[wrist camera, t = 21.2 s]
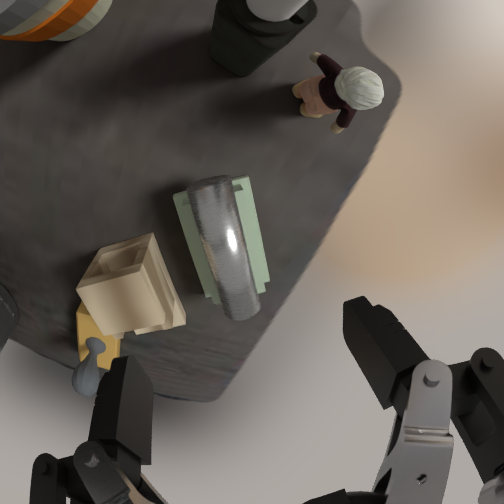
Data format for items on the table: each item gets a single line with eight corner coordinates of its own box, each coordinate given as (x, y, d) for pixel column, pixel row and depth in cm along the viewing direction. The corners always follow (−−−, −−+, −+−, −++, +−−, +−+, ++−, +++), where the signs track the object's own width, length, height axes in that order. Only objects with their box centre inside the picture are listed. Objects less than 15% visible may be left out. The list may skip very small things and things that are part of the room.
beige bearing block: (138, 324, 35) (129, 372, 28) (100, 248, 30) (75, 288, 22) (185, 314, 36) (185, 362, 28) (153, 232, 30) (139, 271, 23)
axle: (256, 292, 32) (264, 314, 29) (222, 302, 32) (227, 324, 28) (227, 172, 26) (234, 181, 22) (186, 183, 25) (185, 194, 22)
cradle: (205, 292, 35) (207, 310, 32) (173, 194, 29) (170, 203, 25) (268, 276, 35) (274, 292, 32) (247, 174, 29) (253, 182, 26)
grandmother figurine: (336, 118, 28) (411, 127, 16) (308, 132, 28) (374, 147, 17) (304, 57, 24) (368, 30, 13) (273, 71, 24) (324, 44, 13)
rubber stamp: (83, 294, 32) (53, 360, 21) (123, 305, 34) (104, 376, 23) (85, 344, 36) (65, 407, 25) (119, 354, 37) (107, 419, 27)
